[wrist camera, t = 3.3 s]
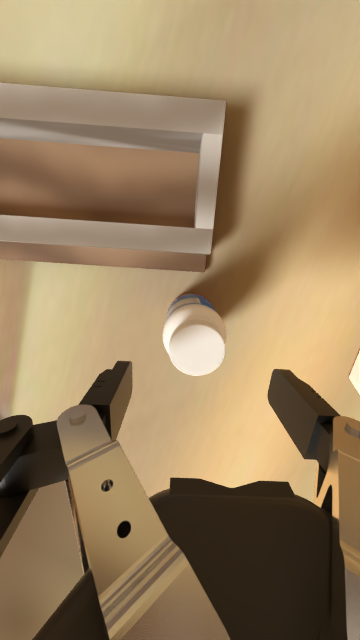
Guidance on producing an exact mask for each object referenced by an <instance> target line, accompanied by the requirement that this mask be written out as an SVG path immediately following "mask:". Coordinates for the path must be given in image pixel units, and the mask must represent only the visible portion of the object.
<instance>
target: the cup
mask: <svg viewBox="0 0 360 640" xmlns="http://www.w3.org/2000/svg"><path fill="white" fill-rule="evenodd" d="M349 379H350V381H351V382H352V384H353V385H354V387H355V388H356V390H357V391H358V393H359V395H360V351H359V354H358V356H357V359H356V361H355V363H354V366H353V368H352V371H351V373H350V376H349Z"/></svg>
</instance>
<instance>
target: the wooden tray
mask: <svg viewBox="0 0 360 640" xmlns="http://www.w3.org/2000/svg"><path fill="white" fill-rule="evenodd" d="M225 109H226V100H213V99H201V98H188V97H175V96H163V95H150V94H138V93H125V92H112V91H100V90H87V89H75V88H62V87H49V86H37V85H24V84H12V83H0V259H6V260H22V261H37V262H53V263H68V264H84V265H99V266H115V267H130V268H146V269H161V270H177V271H192V272H205V263H206V255H208V254H211V245H212V236H213V226H214V216H215V206H216V197H217V187H218V177H219V167H220V158H221V148H222V138H223V128H224V119H225Z"/></svg>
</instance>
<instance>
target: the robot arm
mask: <svg viewBox="0 0 360 640" xmlns="http://www.w3.org/2000/svg"><path fill="white" fill-rule="evenodd" d="M131 394H132V362H131V361H117V363H116V364H115V366H114V368H113V369H112V370H111V369H107V370H105V371H104V372H102V373H101V374H99V376H98V377H97V379H96V380H95V382H94V383H93V385H92V387H90V389H89V390H88V392H87V393H86V395H85V396H84V398H83V399H82V401H81V402H80V403H79V405H77V406H74V407H71V408H69V409H67V410H66V411H64V412H63V413H62V414H61V415H60V416H59V417H58V419H57V420H56V421H52V422H47V423H41V424H36V425H33V423H32V419H31V418H30V417H29V416H26V415H16V416H11V417H8V418H5V419H3V420H1V421H0V557H1V556H2V554H3V552H4V550H5V548H6V546H7V545H8V543H9V541H10V539H11V538H12V536H13V534H14V532H15V530H16V528H17V527H18V525H19V523H20V521H21V519H22V517H23V516H24V514H25V512H26V510H27V509H28V507H29V505H30V503H31V501H32V500H33V498H34V496H35V494H36V492H37V491H38V489H39V488H40V487H43V486H47V485H50V484H54V483H57V482H60V481H64V480H65V483H66V488H67V493H68V498H69V502H70V507H71V512H72V517H73V521H74V526H75V532H76V537H77V543H78V548H79V553H80V558H81V564H82V569H83V573H84V575H83V577H82V578H81V579H80V581H79V582H78V583H77V584H76V585H75V587H74V588H73V589H72V590H71V592H70V593H69V594H68V595H67V597H66V598H65V599H64V600H63V602H62V603H61V604H60V605H59V607H58V608H57V609H56V611H55V612H54V613H53V614H52V616H51V617H50V618H49V619H48V621H47V622H46V623H45V624H44V626H43V627H42V628H41V629H40V631H39V632H38V633H37V634H36V636H35V637H34V638H33V639H32V640H360V422H359V421H357V420H355V419H352V418H349V417H345V416H340V415H339V414H338V413H337V412H336V411H335V410H334V409H333V408H332V407H331V406H330V405H329V404H328V403H327V402H326V401H325V400H324V399H323V398H321V396H320V395H319V394H318V393H316V391H315V390H314V389H313V388H311V387H310V386H309V385H308V384H306V383H305V382H303V381H302V380H300V379H298V378H297V377H296V376H295V375H294V374H293V373H292V372H291V371H290V370H285V369H274V370H273V372H272V376H271V381H270V385H269V390H268V401H269V404H270V405H271V407H272V409H273V410H274V412H275V413H276V415H277V416H278V418H279V420H280V421H281V423H282V424H283V426H284V428H285V429H286V431H287V432H288V434H289V436H290V437H291V439H292V440H293V442H294V444H295V445H296V447H297V448H298V450H299V451H300V453H301V455H302V456H303V458H304V459H315V460H317V461H318V465H317V469H316V478H315V489H314V500H313V503H312V502H310V501H308V500H307V499H305V498H302V497H300V496H298V495H295V494H294V493H293V491H292V489H291V487H290V485H289V483H288V482H276V481H257V482H254V483H250V484H247V485H243V486H239V487H236V488H228V487H225V486H222V485H218V484H215V483H212V482H209V481H205V480H202V479H194V478H170V489H167V490H164V491H161V492H159V493H157V494H155V495H153V496H152V497H150V498H148V496H147V494H146V492H145V490H144V489H143V487H142V485H141V483H140V481H139V479H138V477H137V475H136V474H135V472H134V470H133V468H132V466H131V464H130V462H129V460H128V458H127V457H126V455H125V453H124V451H123V449H122V447H121V445H120V443H119V442H118V441H117V440H116V438H117V435H118V432H119V430H120V427H121V424H122V421H123V418H124V415H125V412H126V409H127V406H128V404H129V401H130V398H131Z"/></svg>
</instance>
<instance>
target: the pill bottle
mask: <svg viewBox="0 0 360 640" xmlns="http://www.w3.org/2000/svg"><path fill="white" fill-rule="evenodd" d="M226 339H227V332H226V327H225V324H224V322H223V320H222V319H221V317H220V316H219V314H218V313H217V311H216V310H215V309H214V307H213V306H212V304H211V303H210V302H209V301H208V300H207V299H206V298H205V297H203V296H201V295H198V294H192V293H190V294H184V295H181V296H179V297H178V298H176V299H175V300H174V301H173V302H172V304H171V305H170V307H169V310H168V313H167V317H166V321H165V325H164V330H163V343H164V346H165V348H166V350H167V352H168V353H169V355H170V358H171V361H172V363H173V364H174V365H175V367H176V368H177V369H178V370H180V371H181V372H183V373H185V374H188V375H193V376H201V375H206V374H209V373H211V372H212V371H214V370H215V369H217V368H218V367H219V365H220V364H221V363H222V361H223V359H224V356H225V343H226Z"/></svg>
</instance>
